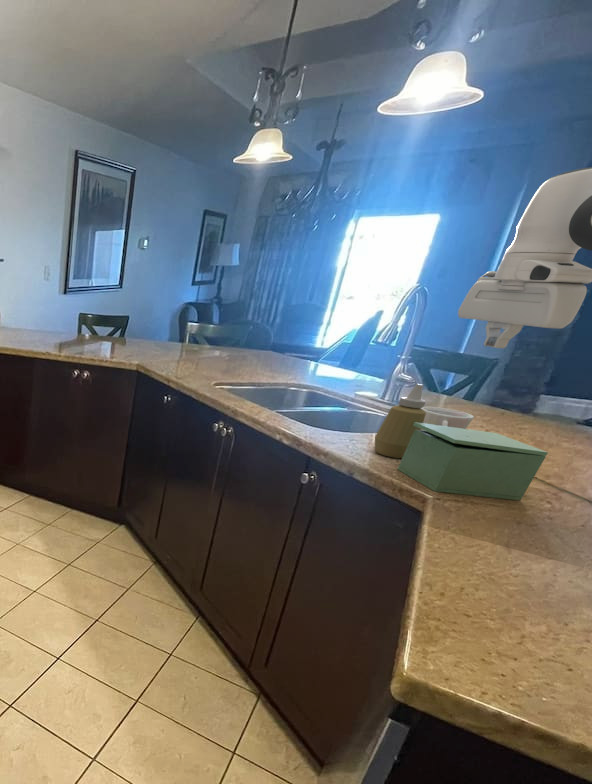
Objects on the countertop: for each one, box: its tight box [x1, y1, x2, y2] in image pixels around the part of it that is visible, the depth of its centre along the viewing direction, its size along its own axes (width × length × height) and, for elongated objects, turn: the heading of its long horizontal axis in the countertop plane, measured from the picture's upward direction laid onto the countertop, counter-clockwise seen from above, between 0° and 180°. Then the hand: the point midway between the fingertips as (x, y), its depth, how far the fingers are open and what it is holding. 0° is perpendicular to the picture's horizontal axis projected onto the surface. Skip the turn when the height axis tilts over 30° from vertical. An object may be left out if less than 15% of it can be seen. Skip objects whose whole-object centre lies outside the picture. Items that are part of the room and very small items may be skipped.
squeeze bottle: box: [374, 383, 427, 459], centre depth 120 cm, size 8×8×18 cm
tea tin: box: [396, 430, 547, 501], centre depth 105 cm, size 16×13×10 cm
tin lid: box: [413, 422, 549, 457], centre depth 103 cm, size 16×13×1 cm
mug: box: [421, 406, 475, 430], centre depth 127 cm, size 10×15×10 cm
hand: (493, 347), depth 96 cm, fingers closed
